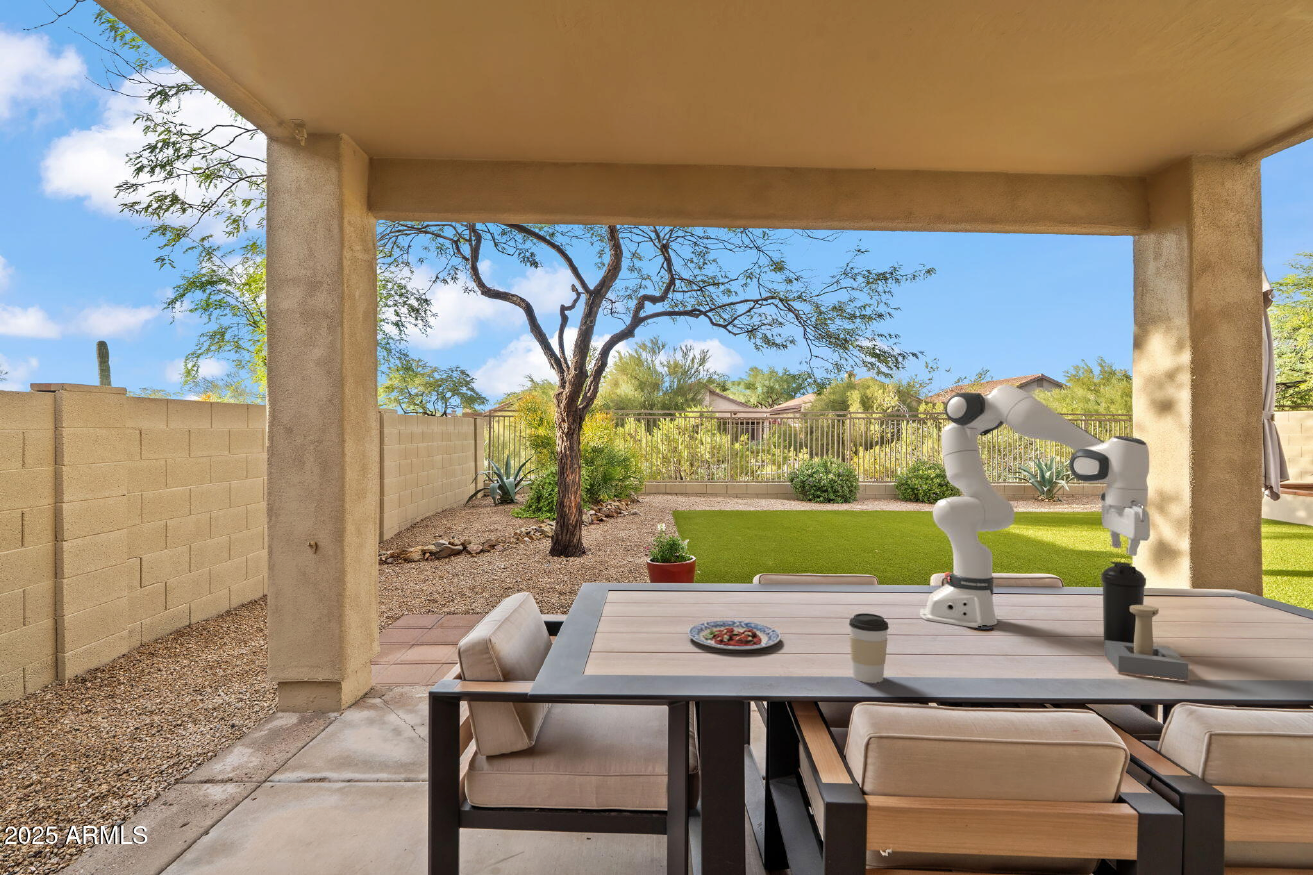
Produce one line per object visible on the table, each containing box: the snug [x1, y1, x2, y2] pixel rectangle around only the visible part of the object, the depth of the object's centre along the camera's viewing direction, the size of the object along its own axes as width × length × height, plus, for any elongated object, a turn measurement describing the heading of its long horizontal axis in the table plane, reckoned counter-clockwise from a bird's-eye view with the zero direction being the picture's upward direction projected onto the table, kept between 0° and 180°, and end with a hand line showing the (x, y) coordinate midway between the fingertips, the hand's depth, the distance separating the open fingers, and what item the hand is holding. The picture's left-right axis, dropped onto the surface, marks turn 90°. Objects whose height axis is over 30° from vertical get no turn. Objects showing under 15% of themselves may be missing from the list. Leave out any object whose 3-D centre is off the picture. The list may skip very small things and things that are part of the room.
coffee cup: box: [848, 612, 890, 684], centre depth 157 cm, size 9×9×15 cm
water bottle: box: [1100, 561, 1147, 646], centre depth 183 cm, size 10×10×23 cm
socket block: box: [1103, 640, 1189, 682], centre depth 165 cm, size 14×13×4 cm
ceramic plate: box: [687, 619, 782, 651], centre depth 185 cm, size 26×26×3 cm
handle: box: [1130, 604, 1160, 656], centre depth 165 cm, size 5×6×15 cm
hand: (1123, 551), depth 172 cm, fingers open, 8 cm apart
